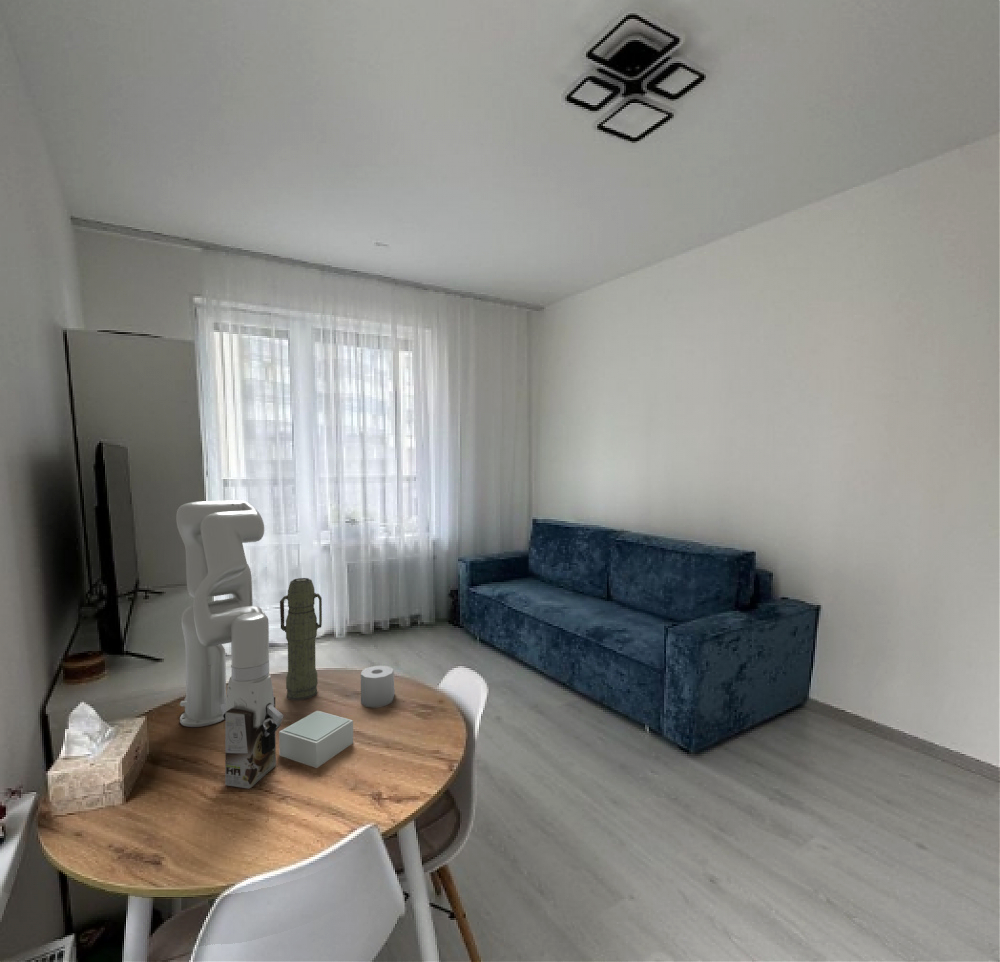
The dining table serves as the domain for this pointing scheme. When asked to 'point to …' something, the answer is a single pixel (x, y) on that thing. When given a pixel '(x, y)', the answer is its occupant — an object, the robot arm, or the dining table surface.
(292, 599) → the thermos
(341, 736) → the ceramic box
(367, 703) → the toilet tissue
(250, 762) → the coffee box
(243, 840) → the dining table surface
